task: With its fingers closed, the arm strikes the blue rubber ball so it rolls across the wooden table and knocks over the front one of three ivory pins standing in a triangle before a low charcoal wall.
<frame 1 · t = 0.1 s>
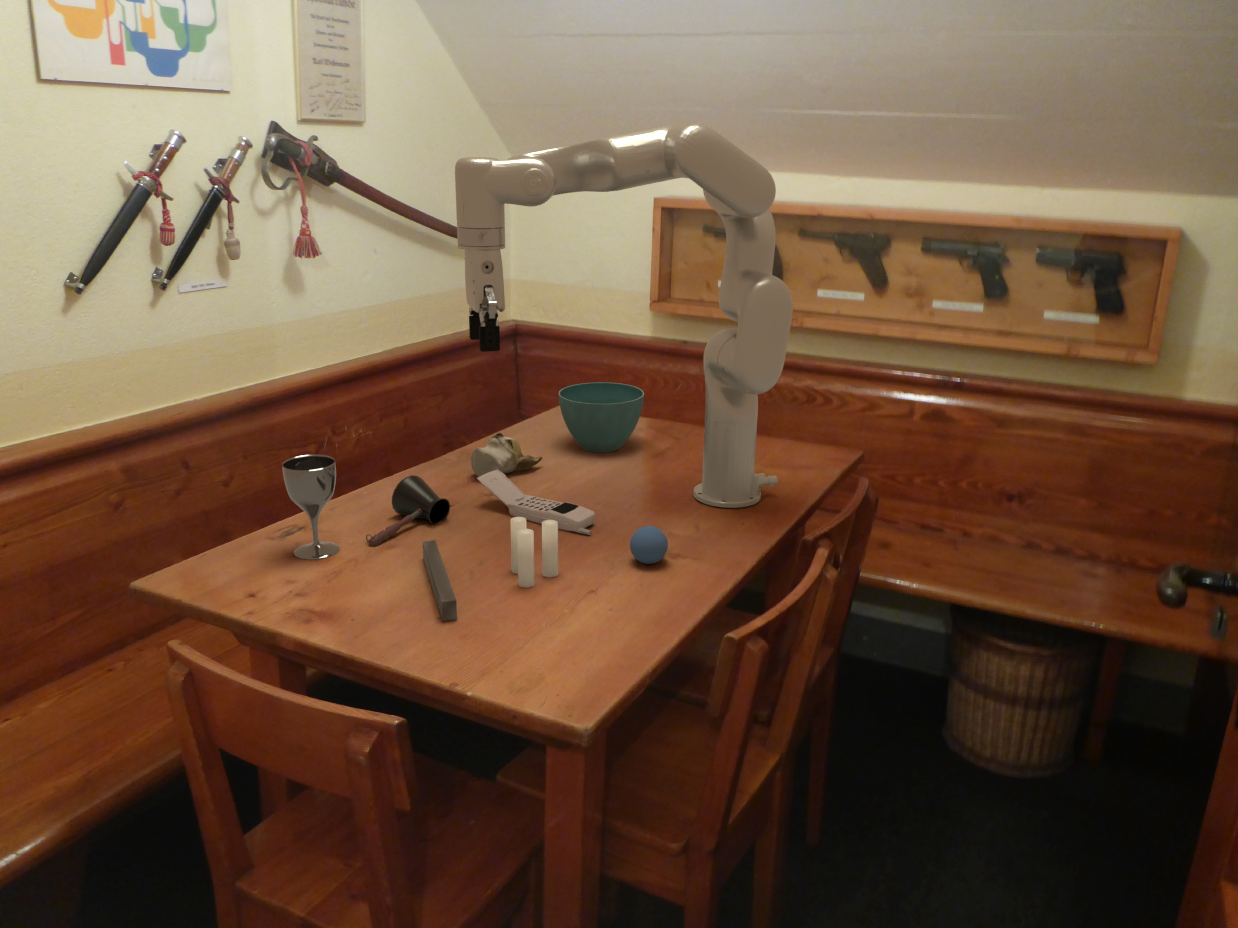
hand: (484, 345, 161), 31 cm above the table, fingers open, 9 cm apart
pin 1: (519, 570, 151), on the table
mobile phone: (539, 518, 173), on the table
coffee pot: (400, 529, 168), on the table
front pin: (550, 573, 150), on the table
teal bowl: (600, 448, 212), on the table
ball: (648, 544, 154), on the table
pin 2: (526, 584, 147), on the table
silver goblet: (317, 551, 158), on the table
back wall: (439, 587, 145), on the table
ceramic sculpture: (501, 474, 195), on the table
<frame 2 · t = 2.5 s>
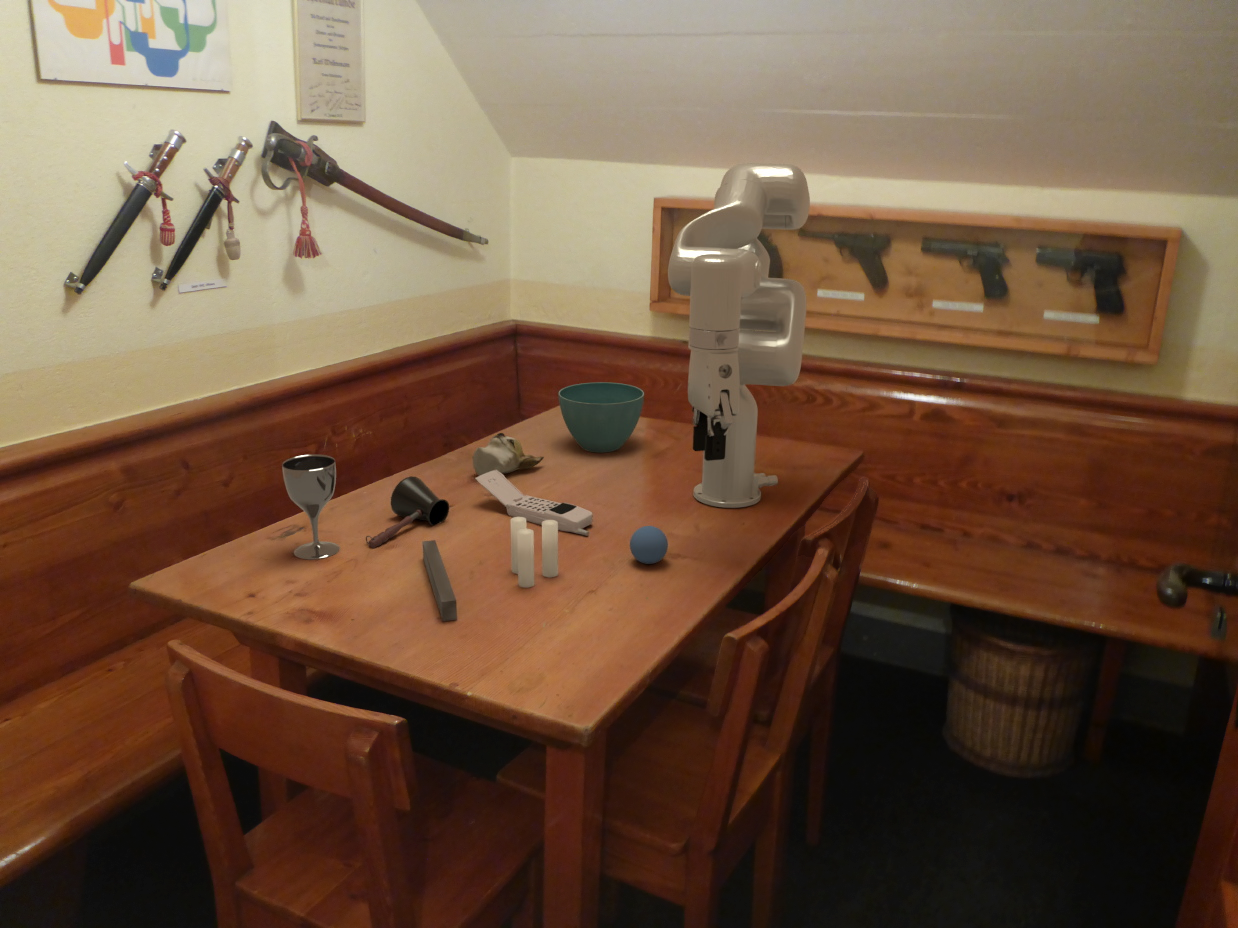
hand: (708, 453, 152), 17 cm above the table, fingers open, 4 cm apart
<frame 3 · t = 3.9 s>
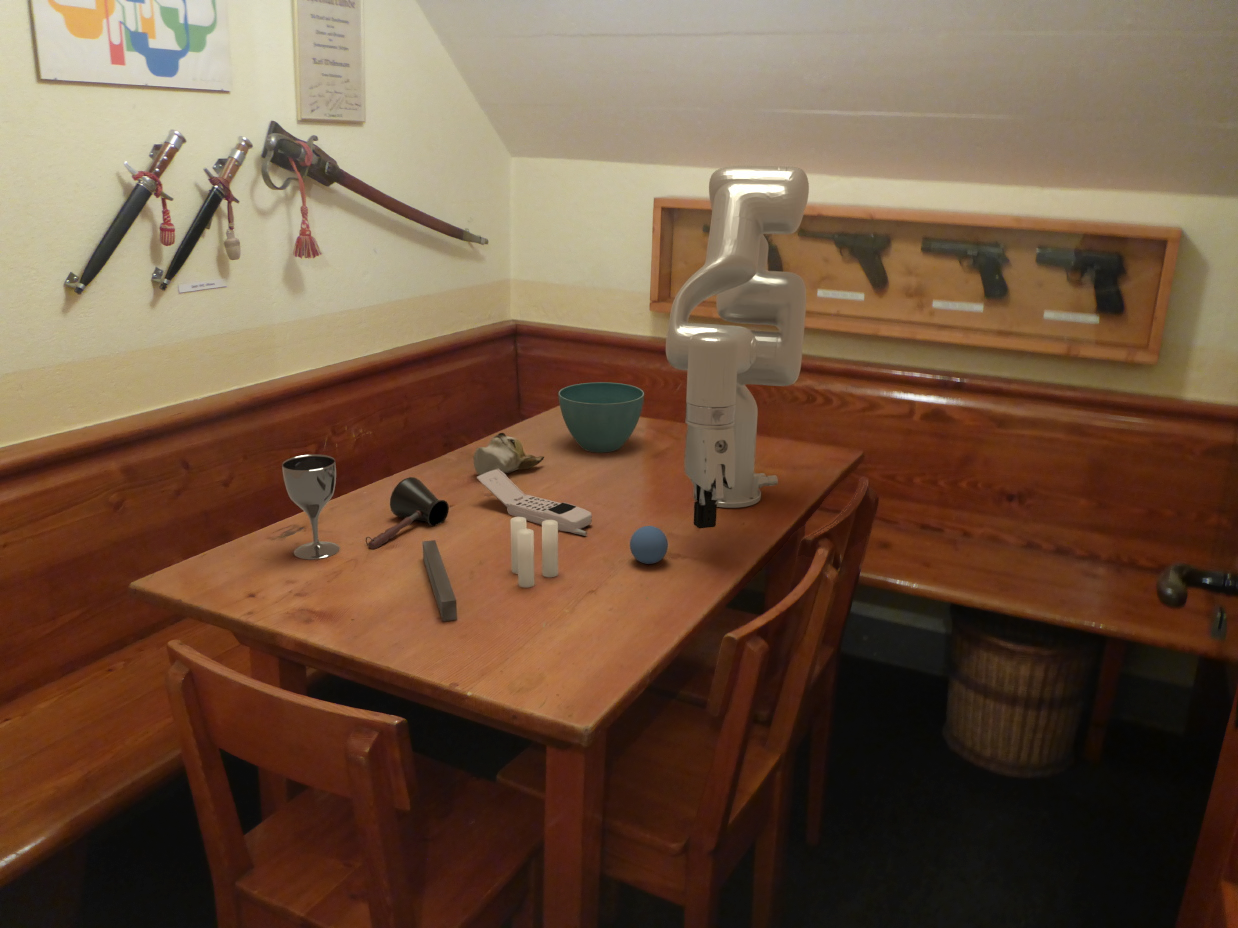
hand: (704, 525, 155), 6 cm above the table, fingers closed
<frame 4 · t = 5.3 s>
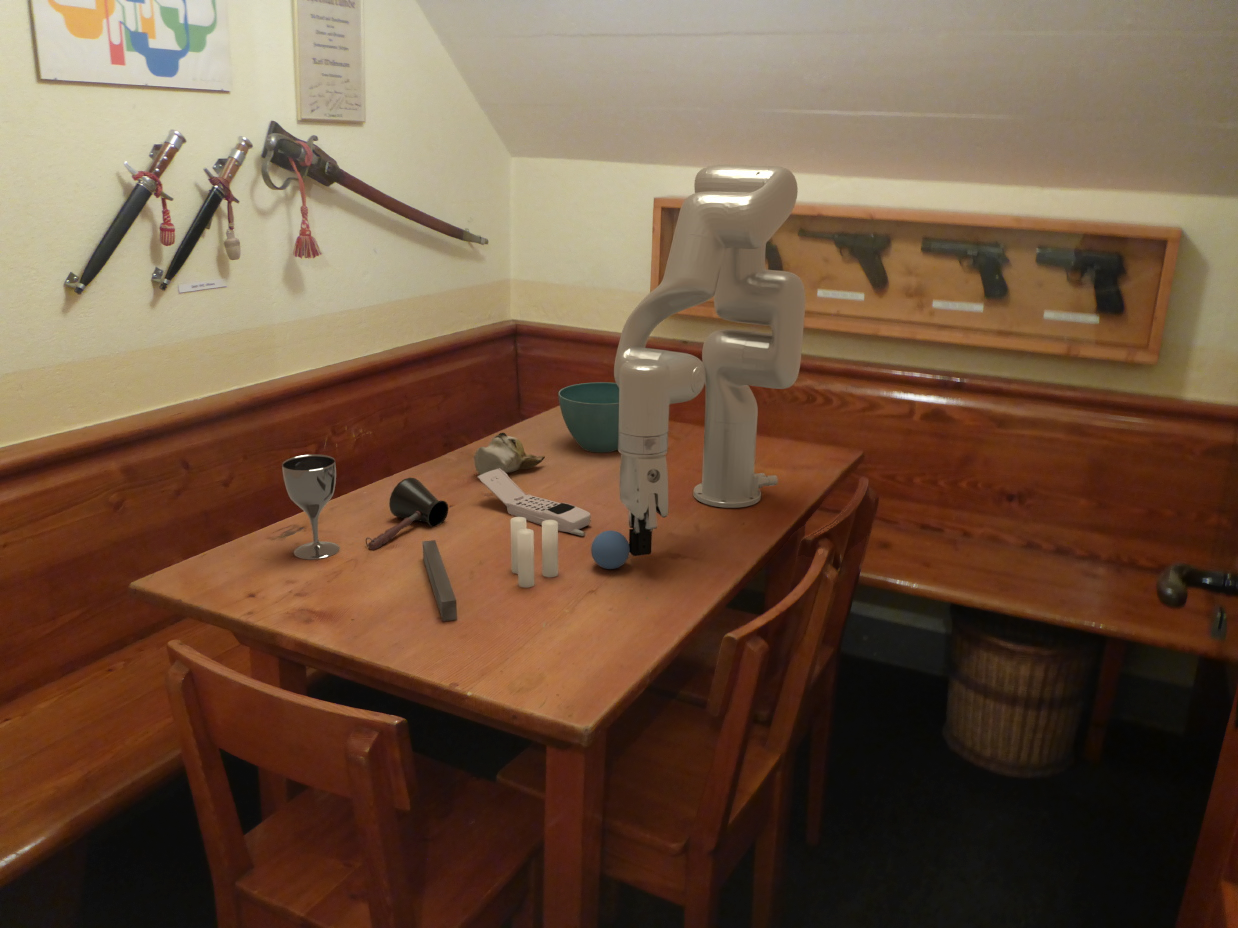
hand: (640, 553, 154), 2 cm above the table, fingers closed
ball: (610, 549, 152), on the table
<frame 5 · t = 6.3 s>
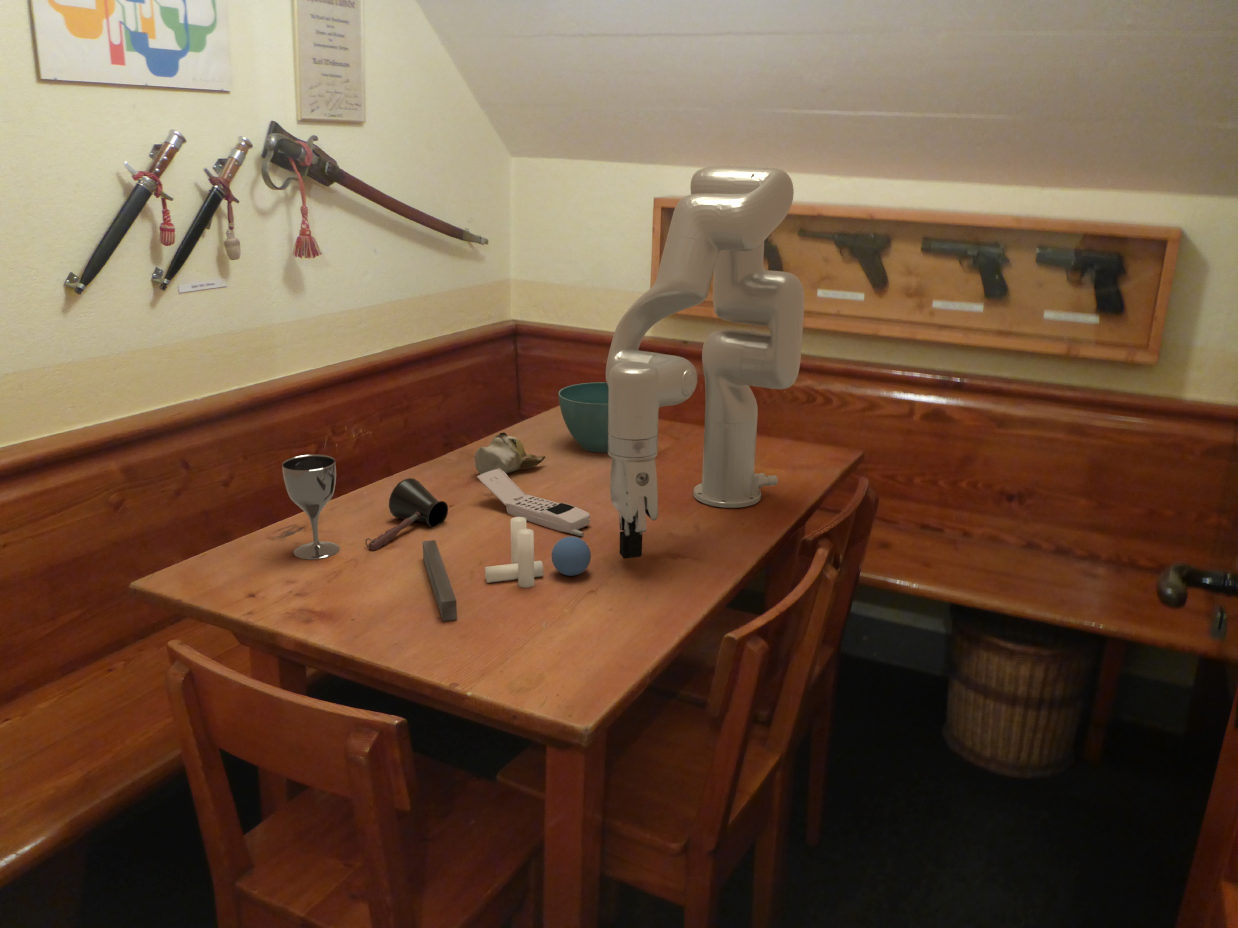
hand: (630, 555, 154), 2 cm above the table, fingers closed
front pin: (541, 568, 150), point 1 cm above the table, tilted 90°
ball: (571, 556, 149), on the table
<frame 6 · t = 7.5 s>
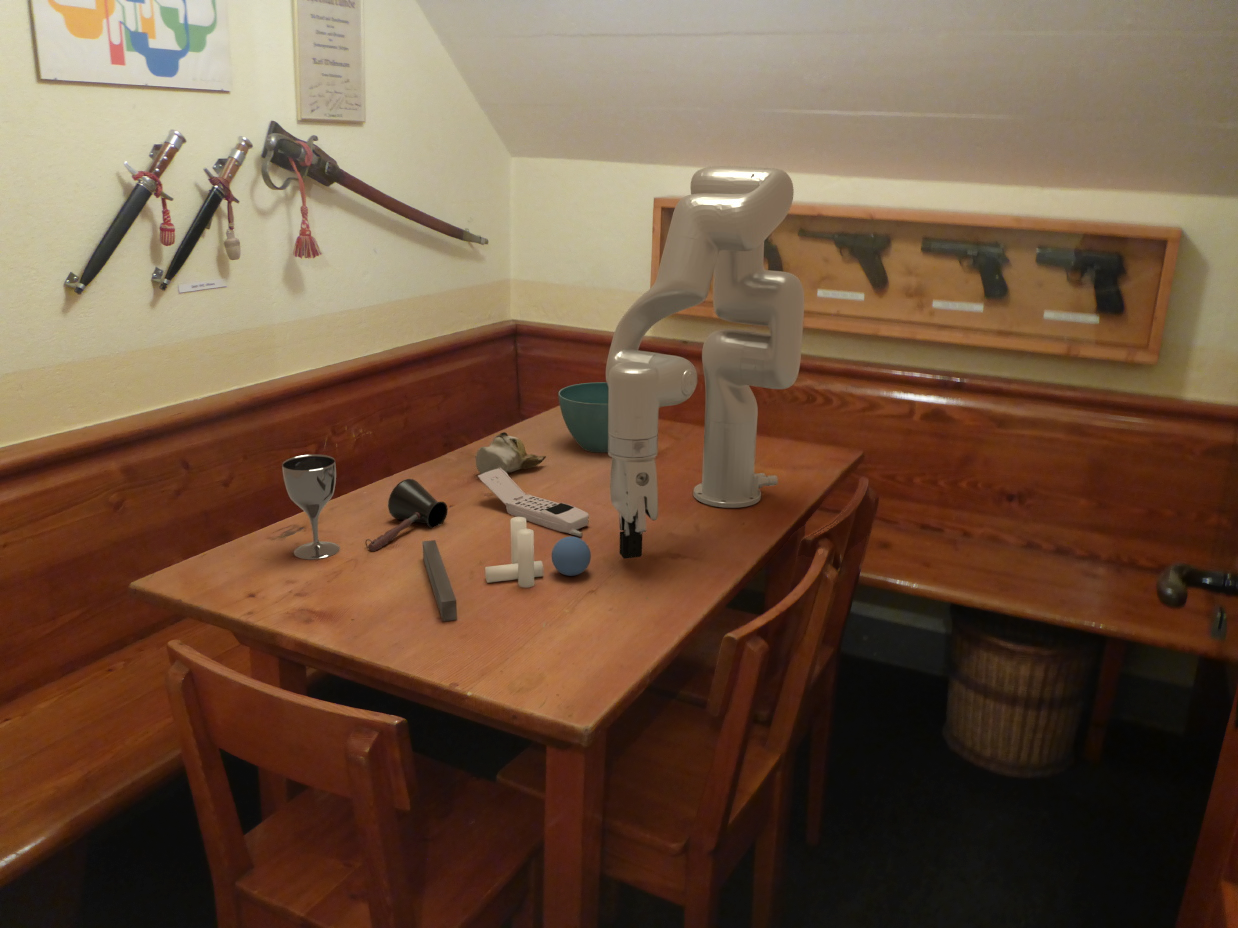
hand: (630, 555, 154), 2 cm above the table, fingers closed
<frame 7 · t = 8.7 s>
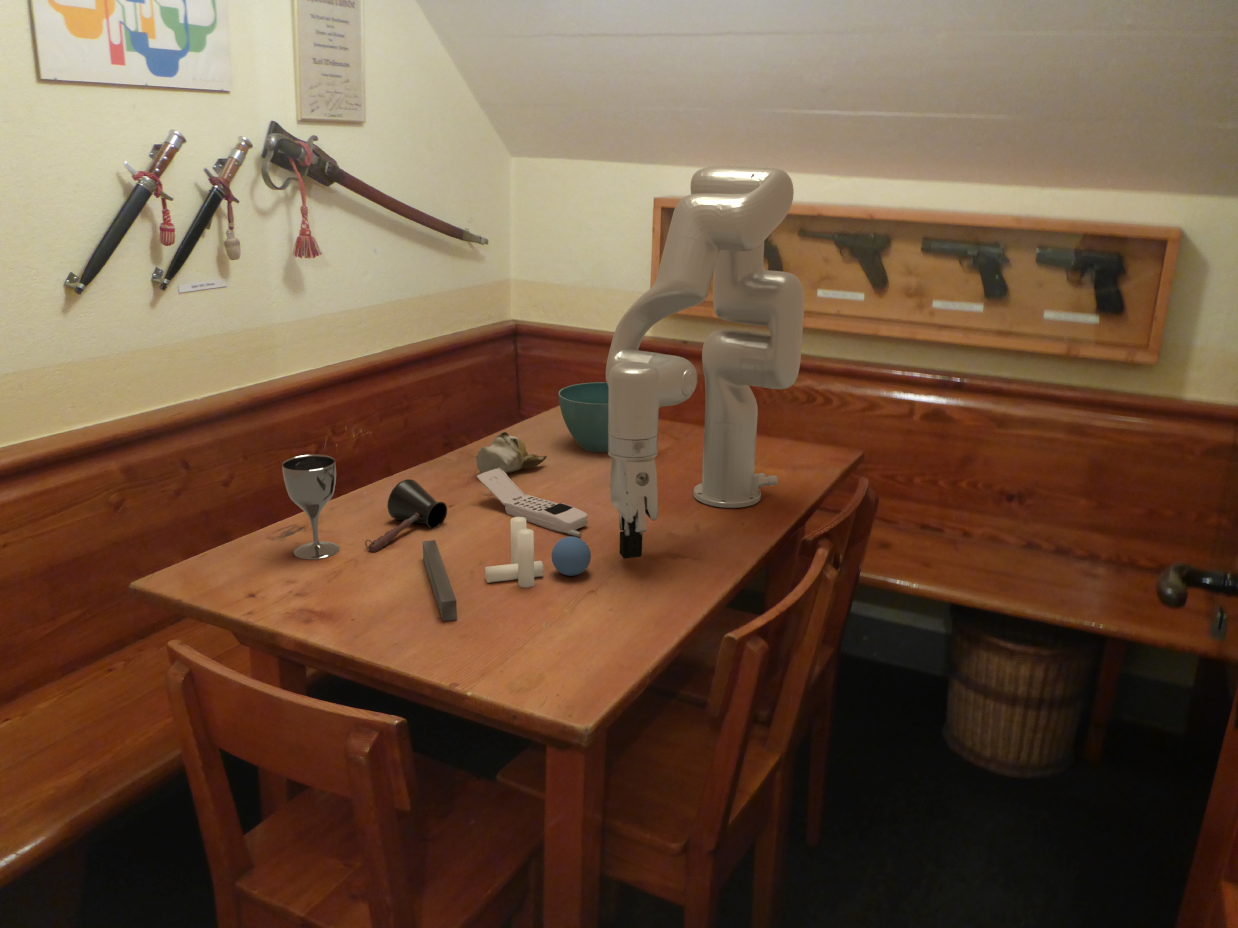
hand: (630, 555, 154), 2 cm above the table, fingers closed
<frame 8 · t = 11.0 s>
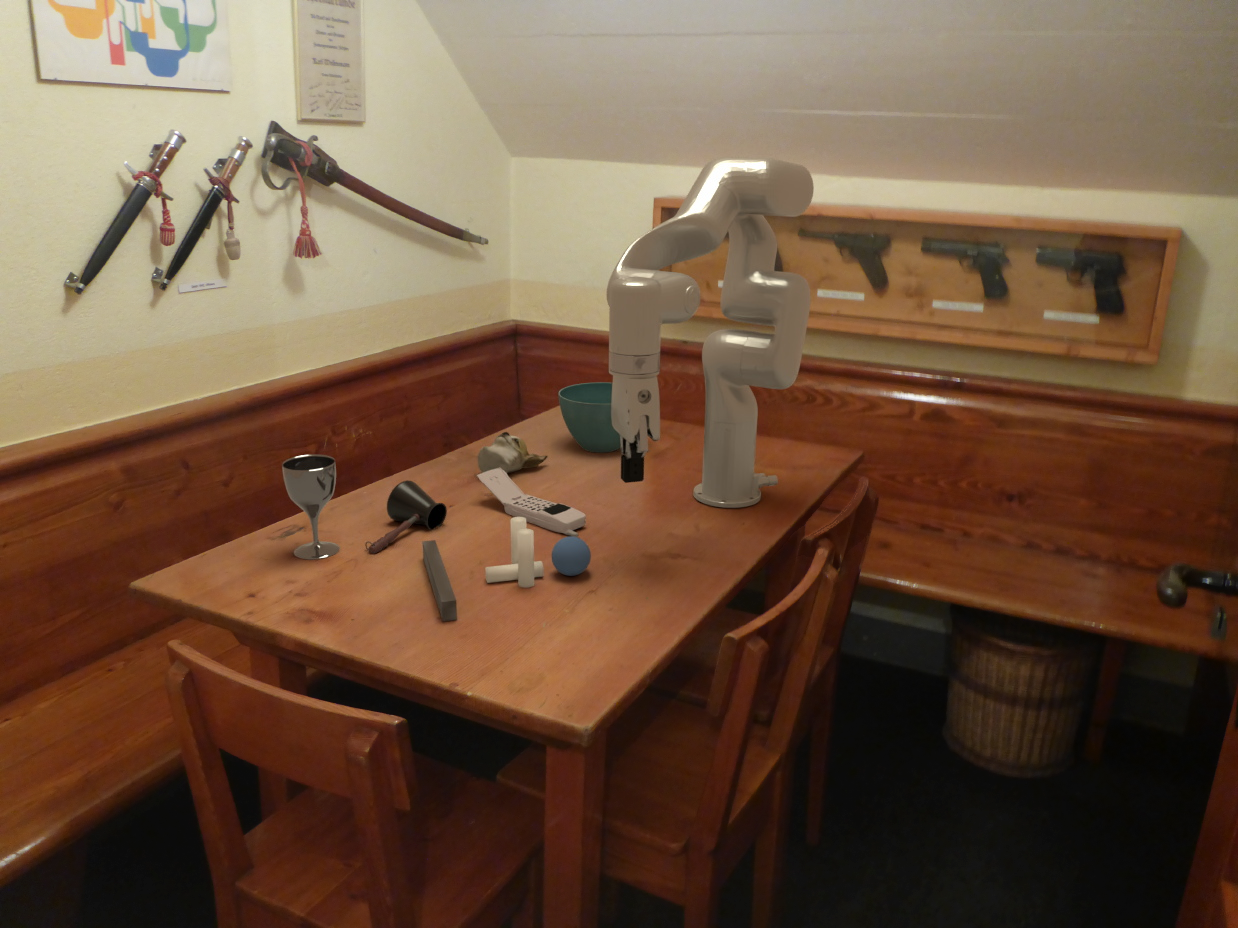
hand: (632, 480, 150), 14 cm above the table, fingers closed
at the end: front pin tilted 90°; front pin never touched the robot; ball moved 12.9 cm from its start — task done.
